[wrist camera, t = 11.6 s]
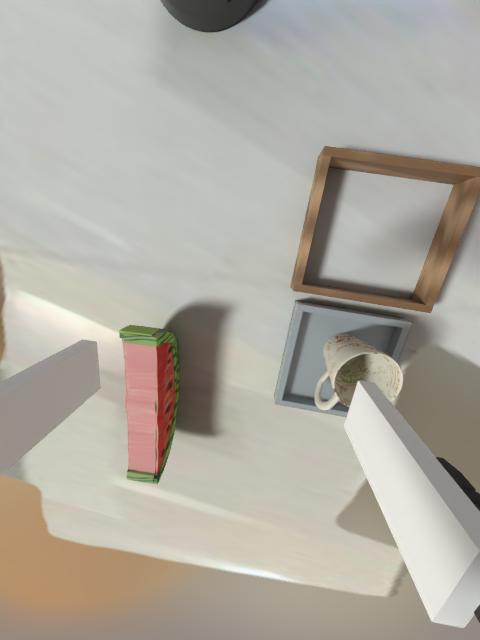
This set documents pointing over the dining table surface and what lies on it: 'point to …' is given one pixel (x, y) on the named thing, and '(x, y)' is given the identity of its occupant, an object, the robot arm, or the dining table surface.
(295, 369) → the tray
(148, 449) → the fruit slice
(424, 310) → the corral
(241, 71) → the dining table surface
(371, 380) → the mug
